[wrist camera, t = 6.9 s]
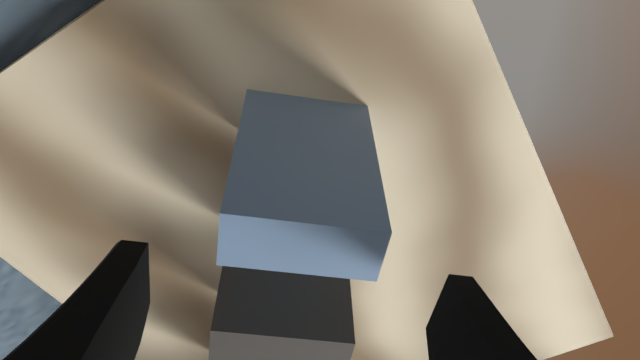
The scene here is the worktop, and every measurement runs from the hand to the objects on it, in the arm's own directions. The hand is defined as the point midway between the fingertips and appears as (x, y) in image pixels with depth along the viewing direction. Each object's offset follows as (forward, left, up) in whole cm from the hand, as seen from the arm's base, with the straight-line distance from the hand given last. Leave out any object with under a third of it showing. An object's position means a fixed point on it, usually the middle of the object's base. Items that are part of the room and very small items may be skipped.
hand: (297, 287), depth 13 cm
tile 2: (-3, -4, -8) cm, 9 cm away
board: (-4, -6, -9) cm, 12 cm away
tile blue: (0, 0, -8) cm, 8 cm away
